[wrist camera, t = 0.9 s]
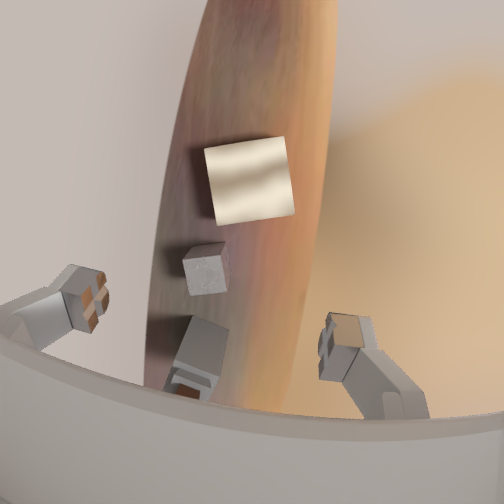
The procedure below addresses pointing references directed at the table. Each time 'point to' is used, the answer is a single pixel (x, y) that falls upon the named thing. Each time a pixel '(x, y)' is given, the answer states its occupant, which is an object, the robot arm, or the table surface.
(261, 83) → the table surface
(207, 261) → the grey block
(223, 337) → the perfume bottle
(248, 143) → the cream square dish
